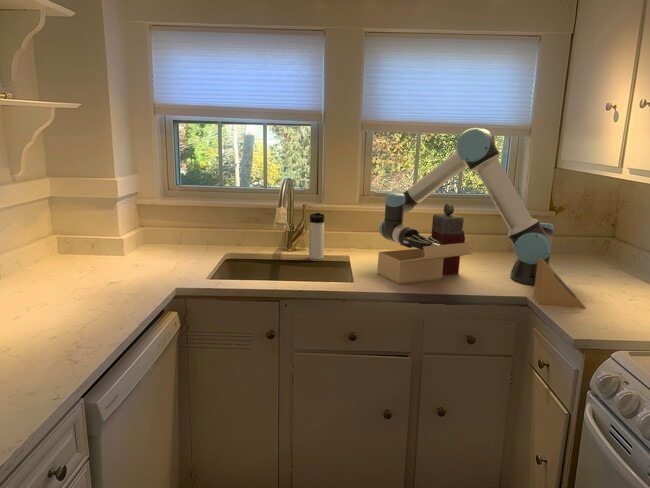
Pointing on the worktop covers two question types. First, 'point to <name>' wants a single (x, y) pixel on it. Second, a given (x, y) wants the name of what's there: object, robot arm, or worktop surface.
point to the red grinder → (448, 236)
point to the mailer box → (408, 267)
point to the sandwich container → (552, 288)
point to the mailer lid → (443, 251)
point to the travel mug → (316, 237)
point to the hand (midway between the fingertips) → (444, 250)
